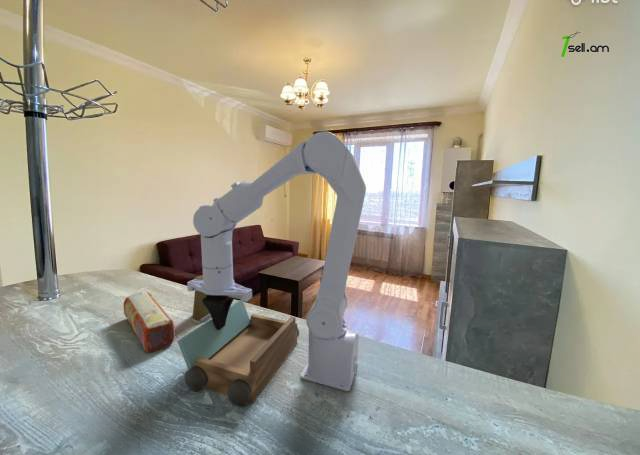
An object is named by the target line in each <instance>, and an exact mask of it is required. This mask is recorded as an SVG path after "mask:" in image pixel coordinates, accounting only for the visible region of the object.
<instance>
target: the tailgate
mask: <svg viewBox="0 0 640 455" xmlns="http://www.w3.org/2000/svg"><path fill="white" fill-rule="evenodd" d="M250 319H251V318H250V316H249V314H248V311H247V309H246V306H245V303H244V301H242V299H238V300H237V301H236V302H234V303H232V304H231V306H230V309H229V311H228V315H227V319H226V324H225V326H224V327H222V328H221V329H220V330H217V329H216V327H215V324H214V322H213V319H212V316H211V314H208V315H207V316H205V317H204V318H202V319H200V320H199V322H200V324H201V325H199V326H198V327H196V328H195V329H194V330H192V331H190V332H188V333H187V334H185V335H184V336H183V337H181V338H180V339H178V340H176V341H177V344H178V346H179V350H180V351H181V355H182V357H183V359H184V362H185V365H186V368H187V371H188V370H189V369H190V368H192V367H193V366H195V360H196V359H197V358H199V357H202V358H205V359H208V358H210V357H211V356H212V355H213V354H214V353H216V352H217V351H218V350H219V349H220V348H221V347H223V346H224V345H225V344H226V343H227V342H229V341H230V340H231V339H232V338H233V337H235V336H236V335H237V334H238V333H239V332H240V331H242V330H243V329H244V328H245V327H246V326H248V325H249V324H250V323H251V321H250Z"/></svg>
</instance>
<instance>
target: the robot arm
mask: <svg viewBox="0 0 640 455" xmlns="http://www.w3.org/2000/svg"><path fill="white" fill-rule="evenodd" d="M312 174H313V175H314V174H317V175H319V176H320V177H322V178H323V179H325V180H326V181H327V182H326V183H328V184H329V186H330V187H331V189H332V190H333V191H334V192H335V194H336V195H337V196H336V202H335V207H334V213H333V217H332V223H331V228H330V234H329V237H328V238H329V239H328V243H327V248H326V254H325V260H324V264H323V265H324V266H323V269H322V274H321V280H320V284H319V285H318V286H319V287H318V290H317V293H316V295H315V296H316V297H315V301H314V303H313V305H312V307H311V308H310V310H309V311H308V313H307V315H306V325H307V329H308V355H307V357H308V358H307V359H308V361H307V364H306V365H305V367H304V368H303V370H302V371H301V373H300V378H301V379H303V380H305V381H310V382H314V383H317V384H321V385H323V386H328V387H331V388H333V389H334V388H335V389H338V390H342V391H345V392H349V391H350V390H351V387H352V385H353V381H354V378H355V376H356V373H357V371H358V365H359V364H358V362H359V361H358V357H359V333H358V332H356V331H353V330H351V329H349V328H348V325H347V324H346V321H345V319H344V315H345V311H346V309H347V305H348V299H347V296H346V288H347V281H348V276H349V271H350V267H351V263H352V258H353V252H354V249H355V244H356V241H357V240H356V238H357V236H358V235H357V234H358V231H359V230H358V229H359V226H360V222H361V221H360V220H361V216H362V211H363V207H364V201H365V196H366V192H367V186H366V183H365V181H364V178H363V176H362V173H361V171H360V169H359V166H358V164H357V161H356V160H355V156H354V154H352V152H351V151H350V150H349V148H348V147H347V145H346V144H344V142H342V140H341V139H340V138H339V136H337V135H336V134H334V133H332V132H329V131H319V132H316V133H314V134H313V135H311V136H310V137H309V138H308V140H307V141H306V140H304V141H302V142H300V143H298V144H297V145H296V146H295V147H294V148H292V150H290V151H289V152H288V153H287V154H286V155H285V156H283V157H282V158H281V159H280V160H278V161H277V162H275V164H274V165H272V166H271V167H270V168H268V169H267V170H266V171H265V172H264V173H262V174H261V175H260V176H259V177H257V178H256V179H255V180H254V181H253V182H249V181H246V180H245V181H241V182H239V181H238V182H237V181H236V182H234V183H232V184H231V185H230V187H231V189H230V190H228V191H227V192H226V193H225V194H223V195H222V196H220V197H219V196H218V197H217V196H216V198H213V203H212V205H207V204H204V205H201V206H199V207H198V209H196V211H195V212H194V214H193V219H192V223H193V226H194V229H195V231H196V232H197V233H198V234H200V244H201V245H200V246H201V247H200V248H201V267H202V275H203V280H196V279H194V278H193V279H191V280H189V281H187V282H186V283H187V284H186V285H187V291H188V292H195V291H200V292H203V293H205V294H207V295H206V297H205V298H203V299H202V303H203V304H204V305H205V306H206V308H207V309H208V311H209V312H210V314H211V316H212V318H211V319H213V322H214V324H215V327H216V329H217V330H220V329H221V328H222V327H224V326H225V324H226V319H227V315H228V311H229V309H230V306H231V305H233V302H234V299H238V300H242V301H243V303H244V302H245V303H247V302H248V301H250V300H251V299H253V289H252V288H249V287H245V286H243V285H241V284H238V283H236V282H235V279H234V265H233V264H234V262H233V231H234V229H235V228H236V226H237V224H238V223H240V222H241V221H243V220H244V219H245V218H247V217H248V216H250V215H252V214H254V212H256V211H257V210H259V209H260V208H261V207H262V206H263V202H264V197H266V196H267V195H269V194H270V193H272V192H273V191H275V190H277V189H278V188H280V187H281V186H283V185H285V184H286V183H287V182H289V181H290V180H293V179H294V178H295V177H297V176H300V175H301V176H302V175H312Z"/></svg>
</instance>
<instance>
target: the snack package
mask: <svg viewBox="0 0 640 455" xmlns="http://www.w3.org/2000/svg"><path fill="white" fill-rule="evenodd" d="M122 305H123V314H124V317H125V318H127V321H128V323H129V325H130V326H131V328H132V329H133V332H134V333H135V334H136V337H137V338H138V340H139V342H140V344H141V345H142V347H143V349H144V351H145V352H147V353H153V352H156V351H159V350H161V349H164V348H166V347H168V346H170V345H171V344H172V343H174V340H175V338H176V330H175V329H176V328H175V323H174V322H175V321H174V320H173V319H171V317H170V316H169V315H168V314H167V312H166V311H165V310H164V309H163V308H162V306H161V305H160V304H159V303H158V302H157V300H155V298H154V297H153V295H152V294H151V293H150V292H148V291H143V292H136V293H132V294H130V295H128V296H127V297H126V298H125V299H124V301H123V304H122Z"/></svg>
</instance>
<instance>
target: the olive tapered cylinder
mask: <svg viewBox="0 0 640 455" xmlns="http://www.w3.org/2000/svg"><path fill="white" fill-rule="evenodd" d="M194 279H196V280H203V274H202V275H201V274H200V275H197V276H196V277H194V278H193V280H194ZM206 295H207V294H205V293H203V292H200V291H195V290H194V299H193V306H192V319H193V320H195V321H200V319H202V318H204V317H205V316H207V315H208V314H210V312H209V311H208V309H207V308H206V306H205V305H204V304H203V303H202V299H203V298H205V297H206Z"/></svg>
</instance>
